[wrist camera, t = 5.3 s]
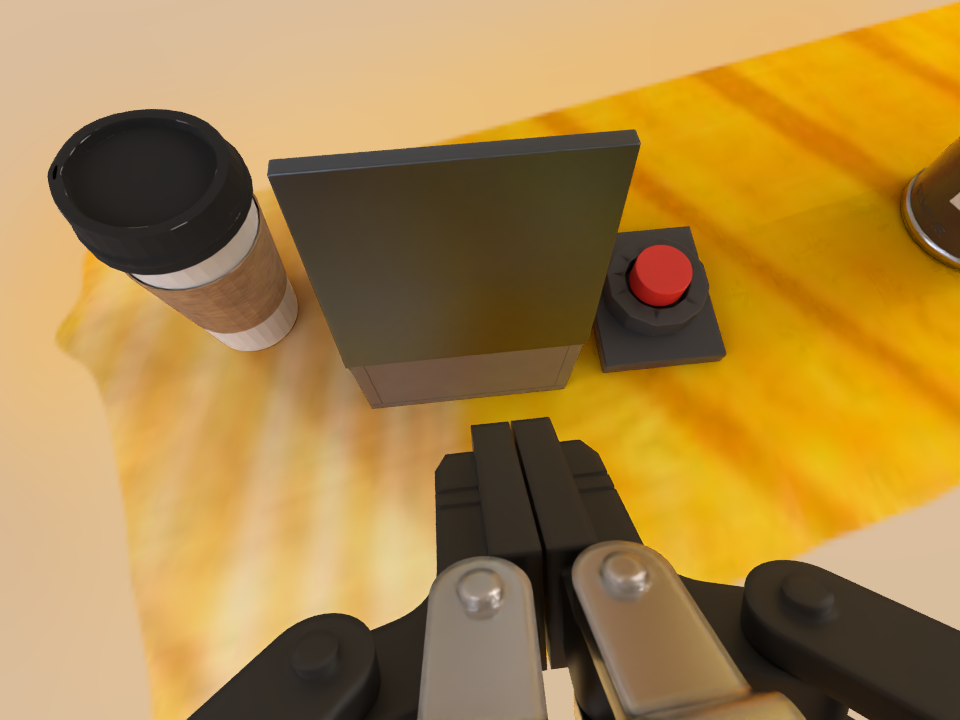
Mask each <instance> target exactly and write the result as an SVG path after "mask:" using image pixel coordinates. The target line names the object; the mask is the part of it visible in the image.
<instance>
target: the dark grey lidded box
mask: <svg viewBox="0 0 960 720" xmlns="http://www.w3.org/2000/svg"><path fill="white" fill-rule="evenodd" d="M582 347H583V345H573V346H563V347H553V348H543V349H533V350H523V351H513V352H504V353H494V354H484V355H474V356H464V357H454V358H444V359H434V360H424V361H414V362H404V363H394V364H384V365H374V366H364V367H354V368H350V370H351V371H352V373H353V375H354V377H355V378H356V380H357V382H358V384H359V385H360V387H361V389H362V391H363V393H364V394H365V396H366V398H367V400H368V401H369V403H370V405H371V407H372V408H373V409H374V408H384V407H393V406H403V405H412V404H422V403H432V402H441V401H451V400H461V399H470V398H480V397H489V396H499V395H509V394H518V393H528V392H537V391H547V390H557V389H564V388H565V386H566V383H567V381H568V379H569V376H570V374H571V372H572V370H573V367H574V365H575V363H576V360H577V358H578V356H579V353H580V351H581V349H582Z"/></svg>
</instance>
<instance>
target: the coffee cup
mask: <svg viewBox="0 0 960 720" xmlns="http://www.w3.org/2000/svg"><path fill="white" fill-rule="evenodd" d="M48 182H49V187H50V191H51V195H52V197H53V199H54V202H55V204H56V205H57V207H58V209H59V210H60V212H61V213H62V214H63V216H64V217H65V218H66V219H67V220H68V222H69V223H70V224H71V225H72V228H73V230H74V231H75V233H76V235H77V237H78V239H79V240H80V241H81V242H82V243H83V244H84V245H85V246H86V247H87V249H88V250H89V251H91V252H92V253H93V254H94V255H95V257H96V258H97V259H99V260H100V261H102V262H103V263H105V264H106V265H108V266H110V267H112V268H114V269H117V270H120V271H123V272H125V273H126V274H127V275H128V276H129V277H130V278H131V279H132V280H134V281H135V282H137V283H138V284H140V285H141V286H143V287H144V288H145V289H147V290H148V291H150V292H151V293H153V294H154V295H155V296H157V297H158V298H160V299H161V300H163V301H164V302H166V303H167V304H168V305H170V306H171V307H173V308H174V309H176V310H177V311H179V312H180V313H181V314H183V315H184V316H186V317H187V318H189V319H190V320H191V321H193V322H194V323H196V324H197V325H199V326H201V327H202V328H204V329H205V330H206V331H208V332H209V333H210V334H212V335H213V336H214V337H216V338H217V339H218V340H220V341H221V342H222V343H224V344H226V345H227V346H229V347H231V348H233V349H236V350H240V351H258V350H263V349H266V348H268V347H271V346H273V345H274V344H276V343H278V342H279V341H280V340H282V339H283V338H284V337H285V336H286V335H287V334H288V333H289V331H290V330H291V329H292V327H293V325H294V323H295V321H296V317H297V313H298V303H297V298H296V295H295V293H294V290H293V288H292V286H291V283H290V281H289V279H288V277H287V274H286V272H285V269H284V266H283V264H282V261H281V259H280V256H279V253H278V251H277V248H276V246H275V243H274V241H273V238H272V236H271V233H270V231H269V228H268V226H267V223H266V221H265V218H264V216H263V213H262V210H261V208H260V205H259V203H258V200H257V198H256V196H255V195H254V194H253V187H252V179H251V176H250V173H249V170H248V168H247V166H246V165H245V163H244V161H243V158H242V157H241V155H240V154H239V153H238V151H237V150H236V149H235V147H233V146H232V145H231V144H230V143H229V142H228V141H226V140H225V139H224V138H223V137H222V136H221V135H220V133H219V132H218V131H217V130H216V129H215V128H213V127H212V126H211V125H210V124H209V123H207V122H205V121H204V120H202V119H200V118H198V117H196V116H192V115H190V114H186V113H183V112H178V111H171V110H161V109H145V110H134V111H128V112H123V113H117V114H113V115H110V116H107V117H104V118H101V119H98V120H96V121H94V122H92V123H90V124H88V125H86V126H84V127H83V128H81V129H80V130H79V131H77V132H76V133H75V134H73V136H72V137H71V138H69V140H68V141H67V142H66V143H65V144H64V145H63V147H62V148H61V149H60V151H59V152H58V154H57V156H56V157H55V159H54V161H53V163H52V164H51V166H50V169H49V171H48Z"/></svg>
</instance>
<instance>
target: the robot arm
mask: <svg viewBox="0 0 960 720" xmlns="http://www.w3.org/2000/svg"><path fill="white" fill-rule="evenodd" d="M901 214H902V218H903V221H904V224H905V226H906V228H907V230H908V231H909V233H910V235H911V236H912V237H913V239H914V240H915V241H916V242H917V243H918V245H919V246H920V247H921V248H923V249H924V250H925V251H926V252H927V253H928V254H930V255H931V256H932V257H934V258H935V259H937V260H938V261H940V262H942V263H944V264H946V265H948V266H950V267H952V268H955V269H958V270H960V137H959V138H958V139H957V140H955V141H954V142H953V143H952V144H951V145H950V146H949V147H948V148H947V149H946V150H945V151H944V152H943V153H942V154H940V155H939V156H938V157H937V158H936V159H935V160H934V161H933V162H932V163H931V164H930V165H929V166H928V167H926V168H924V169H923V170H922V171H920V172H919V173H918V174H917V175H916V176H915V177H914V178H913V179H912V180H911V181H910V182H909V183H908V184H907V186H906V187H905V189H904V191H903V193H902V197H901ZM471 436H472V447H473V452H464V453H455V454H446V455H445V457H444V458H443V460H442V461H441V463H440V465H439V466H438V468H437V469H436V471H435V492H436V494H435V498H436V544H437V578H436V579H435V581H434V582H433V584H432V587H431V589H430V593H429V595H428V597H427V598H426V599H425V600H424V601H423V602H422V603H421V604H420V605H419V606H418V607H417V608H416V609H414V610H413V611H412V612H410V613H409V614H407V615H405V616H404V617H402V618H400V619H397V620H395V621H393V622H391V623H388V624H386V625H383V626H381V627H378V628H376V629H373V630H371V631H370V630H369V628H368V627H367V626H366V625H365V624H364V623H363V622H361V621H360V620H359V619H357V618H355V617H352V616H350V615H345V614H338V613H330V614H322V615H317V616H313V617H310V618H307V619H305V620H303V621H301V622H299V623H296V624H295V625H293V626H292V627H290V628H288V629H287V630H286V631H284V632H283V633H282V634H281V635H280V636H278V637H277V638H276V639H275V640H274V641H273V642H272V643H271V644H270V645H268V646H267V647H266V648H265V649H264V650H263V651H262V652H261V653H260V654H259V655H257V656H256V657H255V658H254V659H253V660H252V661H251V662H250V663H249V664H247V665H246V666H245V667H244V668H243V669H242V670H241V671H240V672H239V673H238V674H236V675H235V676H234V677H233V678H232V679H231V680H230V681H229V682H228V683H226V684H225V685H224V686H223V687H222V688H221V689H220V690H219V691H218V692H217V693H215V694H214V695H213V696H212V697H211V698H210V699H209V700H208V701H207V702H205V703H204V704H203V705H202V706H201V707H200V708H199V709H198V710H197V711H196V712H194V713H193V714H192V715H191V716H190V717H189V718H188V719H187V720H548V716H547V708H546V699H545V691H544V683H543V674H542V671H544V670H547V658H546V647H547V652H548V656H549V661H550V665H551V669H558V668H565V667H568V668H569V672H570V676H571V680H572V684H573V688H574V715H575V719H576V720H855V719H853V718H851V717H850V716H848V715H847V714H848V709H849V708H850V709H852V710H854V711H855V712H857V713H859V714H861V715H862V716H864V717H865V718H867V719H869V720H960V631H959V630H956V629H955V628H952V627H950V626H948V625H946V624H943V623H941V622H939V621H937V620H935V619H933V618H930V617H928V616H926V615H924V614H921V613H919V612H917V611H915V610H913V609H911V608H908V607H906V606H904V605H902V604H900V603H897V602H895V601H893V600H891V599H889V598H886V597H884V596H882V595H880V594H878V593H876V592H873V591H871V590H869V589H867V588H864V587H862V586H860V585H858V584H856V583H854V582H851V581H849V580H847V579H845V578H843V577H840V576H838V575H836V574H834V573H832V572H829V571H827V570H825V569H822V568H820V567H818V566H814V565H811V564H808V563H804V562H799V561H791V560H776V561H770V562H766V563H763V564H760V565H759V566H757V567H755V568H754V569H753V570H752V571H751V572H750V573H749V574H748V576H747V577H746V581H745V585H744V587H740V586H732V585H725V584H717V583H710V582H703V581H698V580H693V579H690V578H687V577H684V576H681V575H679V574H677V573H676V572H675V570H674V568H673V567H672V566H671V564H670V563H669V562H668V561H667V560H666V559H665V558H664V557H663V556H662V555H661V554H659V553H658V552H656V551H655V550H653V549H651V548H649V547H647V546H644V545H643V543H642V541H641V539H640V537H639V535H638V533H637V531H636V529H635V527H634V525H633V523H632V521H631V519H630V517H629V515H628V513H627V511H626V509H625V506H624V504H623V502H622V500H621V498H620V496H619V494H618V492H617V490H616V489H614V484H613V482H612V480H611V478H610V476H609V474H608V475H607V470H606V468H605V466H604V464H603V462H602V460H601V458H600V456H599V454H598V453H597V452H596V451H594V450H593V449H592V448H590V447H589V446H588V445H586V444H585V443H584V442H582V441H581V440H571V441H562V442H559V440H558V438H557V435H556V433H555V430H554V428H553V425H552V423H551V420H550V418H549V417H544V418H534V419H525V420H516V421H511V425H509V422H499V423H490V424H480V425H471Z"/></svg>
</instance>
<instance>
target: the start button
mask: <svg viewBox="0 0 960 720" xmlns="http://www.w3.org/2000/svg"><path fill="white" fill-rule="evenodd" d="M692 274H693V272H692V266H691V263H690V261H689V260H688V258H687V257H686V256H685V255H684V254H683V253H682V252H681V251H679V250H678V249H676V248H674V247H671V246H667V245H655V246H651V247H649V248H647V249H645V250H644V251H642V252H641V253H640V254H639V256H638V258H637V260H636V262H635V264H634V266H633V268H632V270H631V272H630V276H629V283H630V287H631V289H632V291H633V293H634V294H635V295H636V297H637V298H639V299H640V300H641V301H643V302H644V303H646V304H649V305H652V306H667V305H670V304H672V303H674V302H676V301H677V300H678V299H679V298H680V297H681V295H682V294H683V292H684V291H685V290H686V288H687V287H688V285H689V284H690V282H691V279H692Z"/></svg>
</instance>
